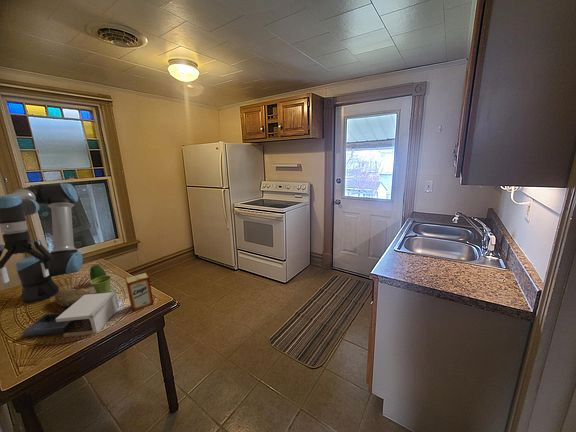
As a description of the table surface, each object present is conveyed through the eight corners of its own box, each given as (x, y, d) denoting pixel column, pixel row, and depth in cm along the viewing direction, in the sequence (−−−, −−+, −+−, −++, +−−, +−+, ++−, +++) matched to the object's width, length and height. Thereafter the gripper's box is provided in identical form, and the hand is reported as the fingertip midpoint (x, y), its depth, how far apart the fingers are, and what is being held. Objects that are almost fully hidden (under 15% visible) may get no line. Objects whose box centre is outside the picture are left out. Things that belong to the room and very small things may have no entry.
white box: (59, 337, 104) (54, 319, 102) (88, 310, 123) (84, 294, 120) (96, 333, 106) (91, 315, 104) (119, 307, 125) (115, 292, 122)
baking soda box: (132, 311, 121) (126, 282, 117) (130, 305, 126) (125, 277, 122) (153, 303, 127) (148, 276, 123) (151, 298, 132) (146, 271, 128)
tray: (24, 337, 105) (22, 332, 104) (47, 319, 116) (45, 314, 115) (65, 333, 107) (63, 327, 106) (83, 316, 118) (82, 310, 118)
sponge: (53, 305, 130) (61, 311, 118) (52, 291, 130) (60, 295, 118) (84, 298, 140) (95, 303, 128) (83, 284, 141) (94, 288, 128)
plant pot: (103, 298, 133) (100, 284, 131) (89, 296, 135) (86, 283, 133) (118, 289, 142) (115, 276, 140) (104, 288, 144) (101, 274, 141)
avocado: (88, 284, 148) (84, 266, 145) (101, 278, 155) (97, 261, 152) (98, 286, 146) (93, 268, 143) (110, 280, 153) (106, 262, 150)
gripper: (-34, 238, 95) (-20, 288, 98) (47, 229, 103) (58, 276, 106) (-18, 234, 102) (-5, 282, 105) (57, 226, 110) (66, 270, 113)
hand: (26, 279), depth 106 cm, fingers open, 13 cm apart
